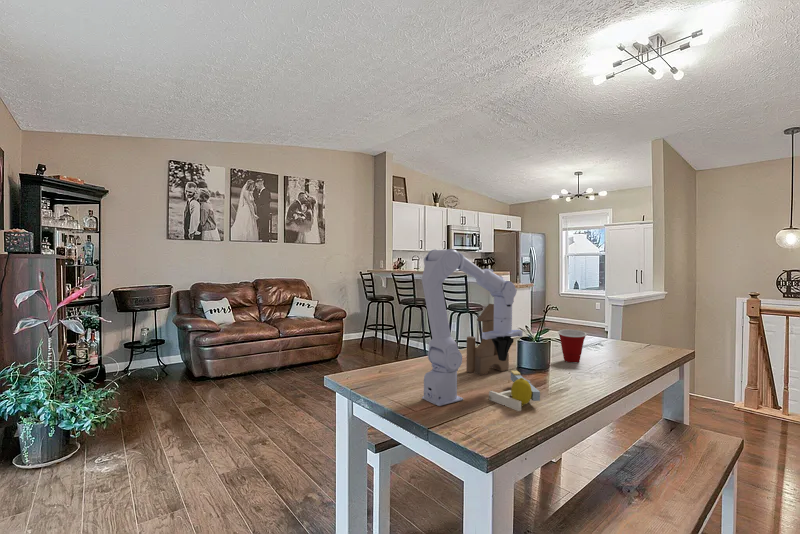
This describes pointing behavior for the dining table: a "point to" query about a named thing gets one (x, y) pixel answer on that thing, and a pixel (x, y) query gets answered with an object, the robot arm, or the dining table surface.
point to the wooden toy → (484, 348)
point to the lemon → (521, 391)
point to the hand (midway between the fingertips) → (502, 360)
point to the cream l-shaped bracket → (505, 399)
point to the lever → (535, 393)
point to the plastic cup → (572, 344)
